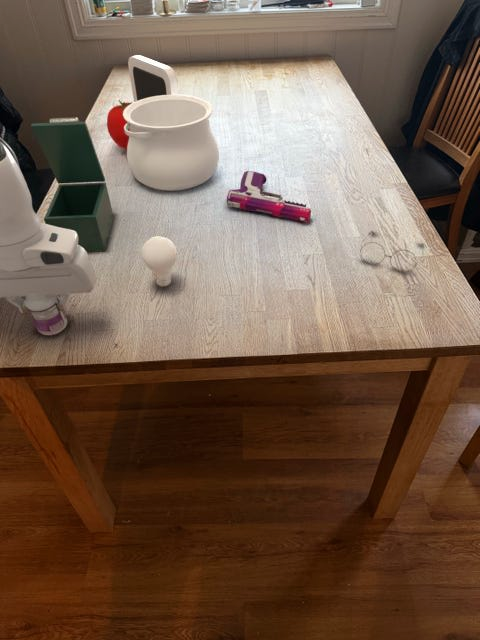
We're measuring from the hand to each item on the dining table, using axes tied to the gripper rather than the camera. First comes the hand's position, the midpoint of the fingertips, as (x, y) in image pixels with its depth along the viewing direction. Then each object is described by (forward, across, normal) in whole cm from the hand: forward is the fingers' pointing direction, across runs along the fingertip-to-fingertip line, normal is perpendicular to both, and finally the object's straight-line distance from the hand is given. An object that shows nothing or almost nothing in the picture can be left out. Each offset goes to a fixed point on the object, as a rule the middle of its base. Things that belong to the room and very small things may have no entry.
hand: (46, 309), depth 80 cm
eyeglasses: (+4, +68, +16) cm, 70 cm away
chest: (+4, +1, +30) cm, 30 cm away
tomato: (+4, +7, +75) cm, 75 cm away
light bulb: (+4, +20, +10) cm, 23 cm away
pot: (+4, +21, +58) cm, 61 cm away
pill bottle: (+4, 0, 0) cm, 4 cm away
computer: (-7, +14, +79) cm, 81 cm away
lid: (-12, +1, +35) cm, 37 cm away
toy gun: (+2, +49, +46) cm, 67 cm away
